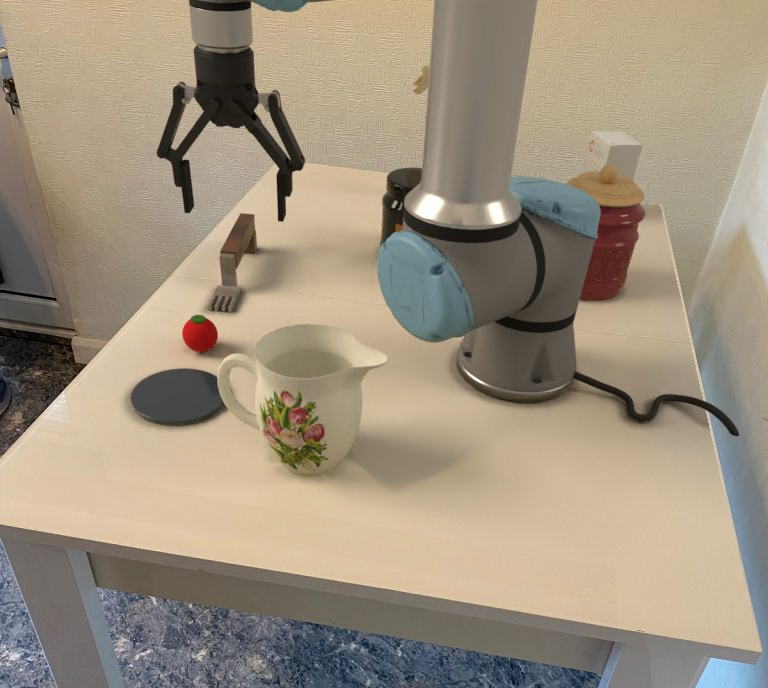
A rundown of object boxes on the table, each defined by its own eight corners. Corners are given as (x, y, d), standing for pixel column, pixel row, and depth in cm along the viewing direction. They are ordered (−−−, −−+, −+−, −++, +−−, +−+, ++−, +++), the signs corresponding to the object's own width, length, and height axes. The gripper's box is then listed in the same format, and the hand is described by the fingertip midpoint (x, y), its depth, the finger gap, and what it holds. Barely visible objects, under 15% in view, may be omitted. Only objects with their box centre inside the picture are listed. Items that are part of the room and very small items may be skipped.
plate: (246, 393, 88) (245, 389, 88) (179, 437, 82) (179, 433, 81) (179, 362, 93) (178, 358, 92) (111, 402, 86) (110, 397, 85)
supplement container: (440, 272, 116) (449, 194, 107) (374, 263, 116) (378, 185, 108) (446, 245, 123) (455, 170, 115) (384, 237, 124) (389, 162, 116)
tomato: (226, 348, 96) (223, 316, 93) (202, 362, 93) (198, 330, 90) (201, 337, 97) (197, 306, 94) (177, 351, 94) (172, 319, 91)
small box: (622, 220, 136) (643, 144, 127) (591, 221, 135) (610, 145, 126) (603, 203, 142) (622, 130, 133) (573, 204, 140) (590, 130, 131)
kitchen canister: (536, 293, 112) (562, 173, 100) (543, 259, 121) (567, 144, 109) (622, 307, 110) (659, 186, 98) (623, 271, 120) (657, 156, 107)
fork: (239, 247, 118) (236, 212, 114) (259, 248, 118) (257, 214, 114) (208, 310, 103) (204, 273, 99) (231, 312, 103) (228, 275, 99)
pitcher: (244, 410, 86) (234, 301, 77) (393, 441, 83) (401, 332, 74) (203, 467, 78) (187, 354, 69) (366, 503, 75) (372, 390, 66)
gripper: (325, 47, 96) (323, 211, 110) (134, 30, 96) (158, 196, 110) (317, 61, 90) (317, 231, 105) (115, 43, 90) (143, 216, 105)
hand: (235, 214), depth 108 cm, fingers open, 13 cm apart
